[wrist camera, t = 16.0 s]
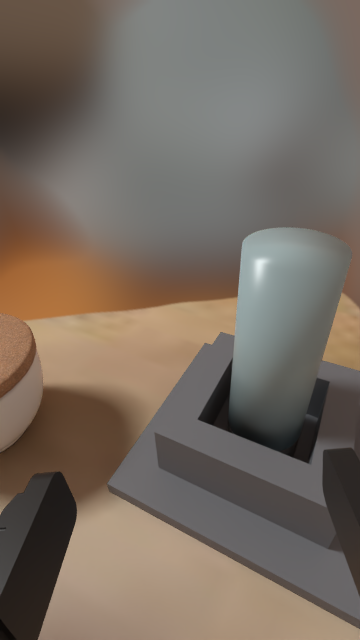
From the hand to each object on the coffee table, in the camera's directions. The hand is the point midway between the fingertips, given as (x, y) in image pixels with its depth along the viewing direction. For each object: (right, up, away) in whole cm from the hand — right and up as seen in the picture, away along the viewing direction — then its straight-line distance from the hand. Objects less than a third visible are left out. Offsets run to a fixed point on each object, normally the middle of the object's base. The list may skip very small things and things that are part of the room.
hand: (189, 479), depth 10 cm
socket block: (+6, -4, +15) cm, 17 cm away
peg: (+6, -4, +15) cm, 16 cm away
